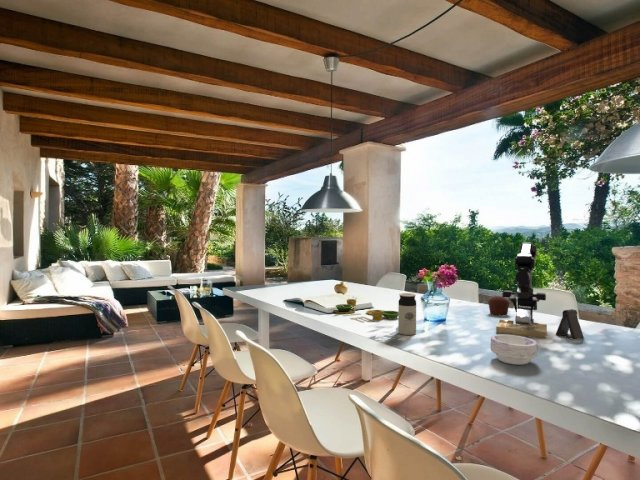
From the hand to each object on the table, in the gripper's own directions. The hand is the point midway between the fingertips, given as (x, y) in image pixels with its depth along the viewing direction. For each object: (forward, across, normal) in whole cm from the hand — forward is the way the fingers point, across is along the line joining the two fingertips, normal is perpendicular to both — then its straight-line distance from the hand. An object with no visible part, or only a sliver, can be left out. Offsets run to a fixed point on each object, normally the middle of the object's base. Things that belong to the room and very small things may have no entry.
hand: (523, 312), depth 199 cm
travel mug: (+7, -45, -40) cm, 61 cm away
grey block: (+3, 0, -2) cm, 4 cm away
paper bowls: (+7, +1, -59) cm, 60 cm away
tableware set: (+8, -81, -9) cm, 82 cm away
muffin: (+8, -15, +30) cm, 34 cm away
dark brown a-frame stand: (+8, +19, -8) cm, 22 cm away
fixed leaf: (+7, 0, -11) cm, 13 cm away
